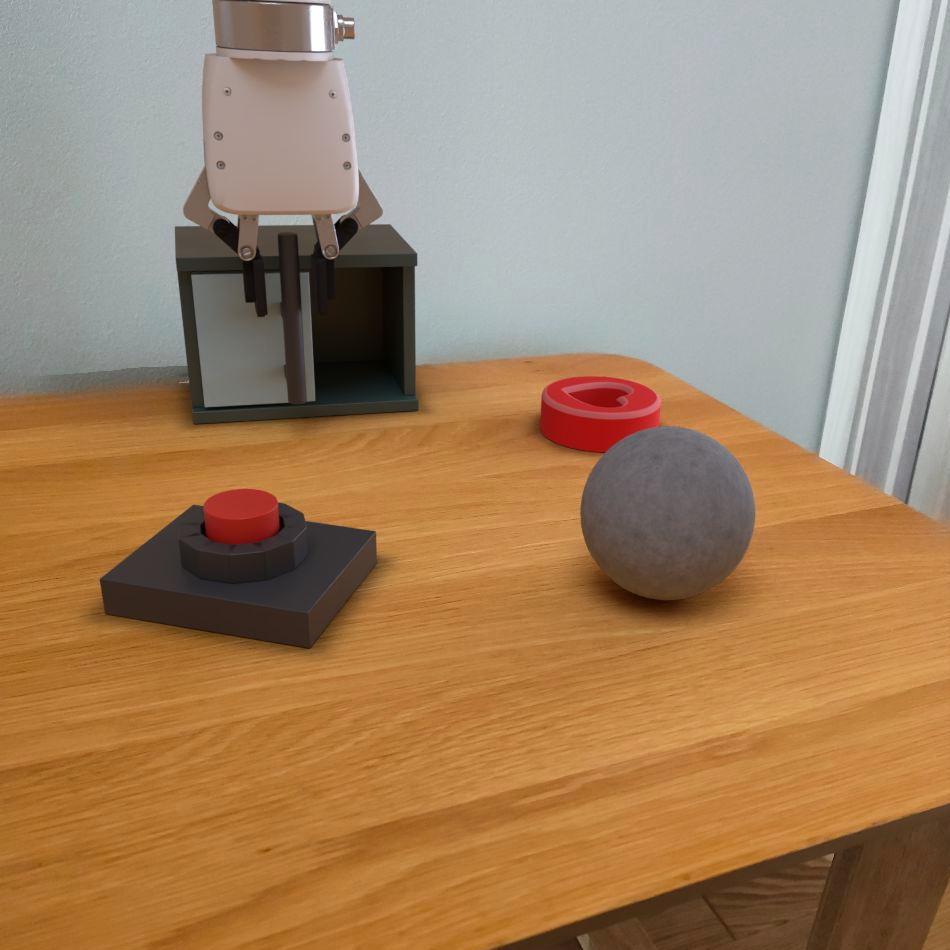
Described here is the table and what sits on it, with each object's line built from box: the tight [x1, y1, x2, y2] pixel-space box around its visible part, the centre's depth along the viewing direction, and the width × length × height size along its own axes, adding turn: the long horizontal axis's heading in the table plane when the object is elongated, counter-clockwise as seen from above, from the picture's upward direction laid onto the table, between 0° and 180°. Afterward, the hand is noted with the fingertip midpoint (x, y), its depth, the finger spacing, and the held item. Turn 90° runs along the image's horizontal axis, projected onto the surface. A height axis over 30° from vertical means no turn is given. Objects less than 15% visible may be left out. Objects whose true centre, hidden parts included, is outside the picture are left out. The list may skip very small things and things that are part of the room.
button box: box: [99, 501, 378, 649], centre depth 60 cm, size 12×10×4 cm
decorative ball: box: [579, 425, 756, 601], centre depth 61 cm, size 10×10×10 cm
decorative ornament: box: [539, 375, 662, 453], centre depth 86 cm, size 10×10×3 cm
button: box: [202, 488, 280, 545], centre depth 59 cm, size 4×4×2 cm
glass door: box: [191, 232, 315, 407], centre depth 79 cm, size 9×6×14 cm
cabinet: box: [174, 223, 419, 425], centre depth 88 cm, size 18×12×13 cm, turn 107°
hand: (291, 308), depth 77 cm, fingers open, 3 cm apart
